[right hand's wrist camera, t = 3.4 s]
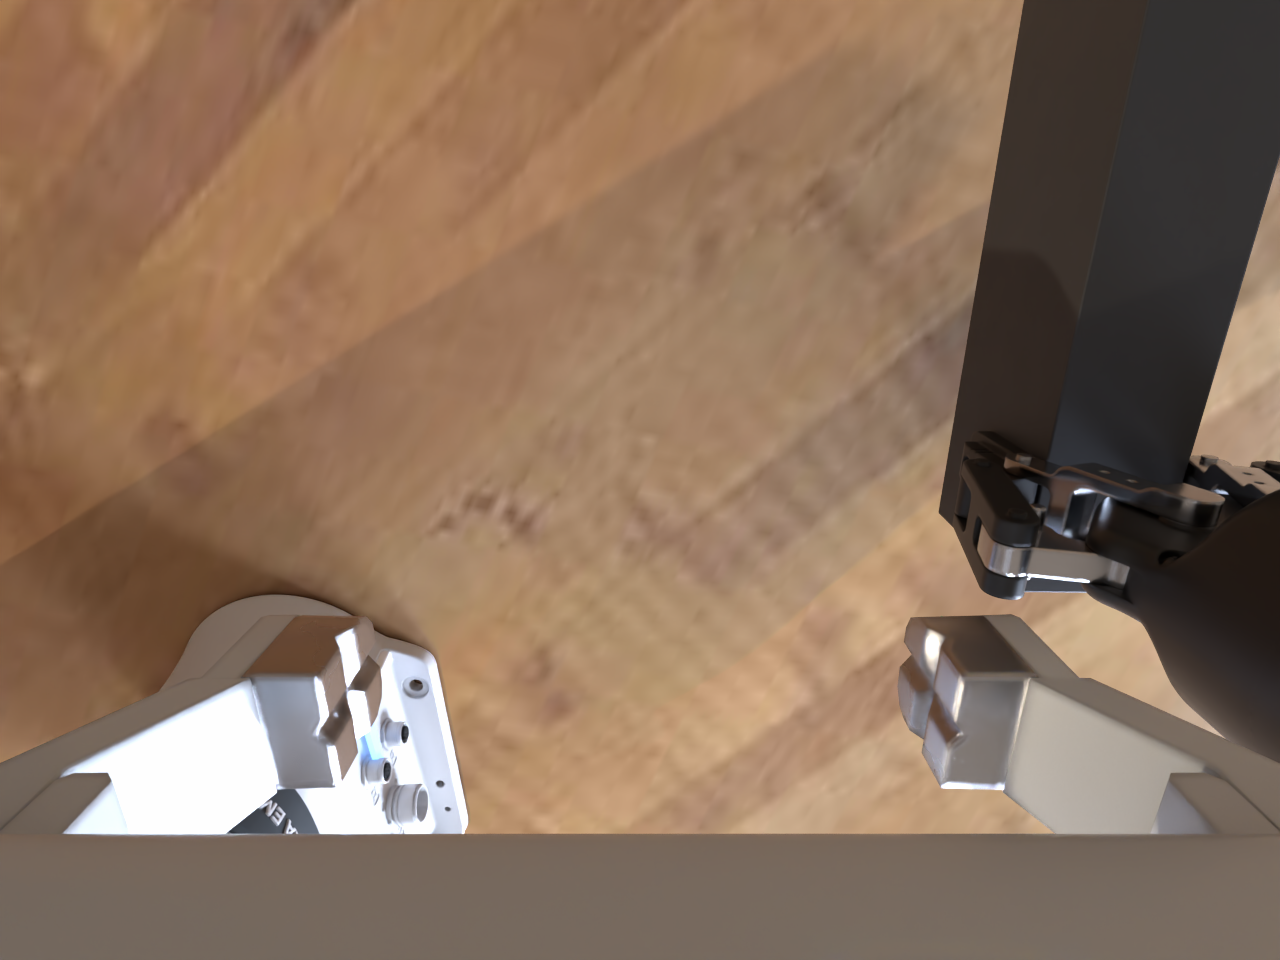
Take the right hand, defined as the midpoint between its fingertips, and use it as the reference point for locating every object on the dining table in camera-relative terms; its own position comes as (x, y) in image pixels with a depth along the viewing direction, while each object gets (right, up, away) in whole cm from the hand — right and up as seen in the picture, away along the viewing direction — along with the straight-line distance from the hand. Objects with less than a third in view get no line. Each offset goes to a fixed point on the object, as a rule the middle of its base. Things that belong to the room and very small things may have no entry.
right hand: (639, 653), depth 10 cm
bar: (+17, +14, +18) cm, 29 cm away
